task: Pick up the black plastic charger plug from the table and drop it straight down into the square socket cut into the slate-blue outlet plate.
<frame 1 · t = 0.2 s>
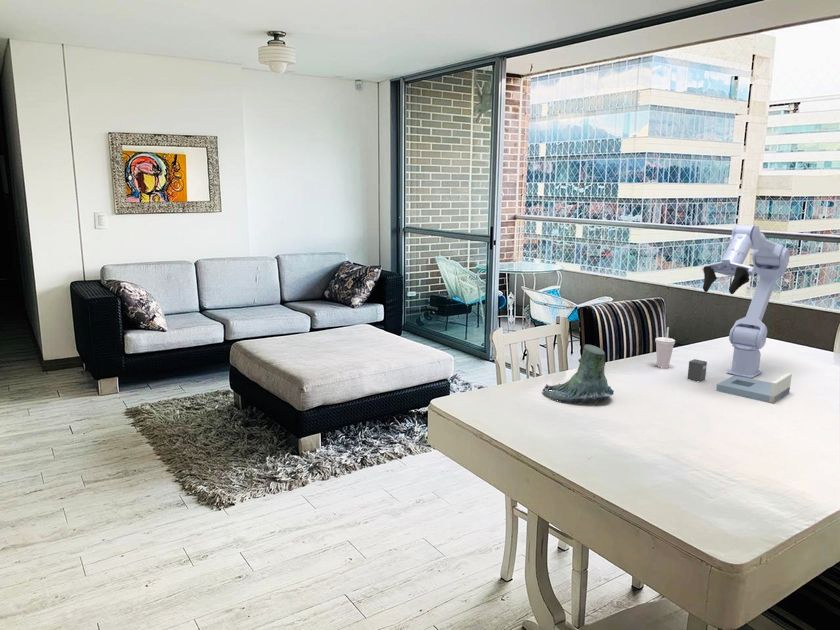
hand: (717, 290, 187), 31 cm above the table, tool tilted 45°, fingers open, 7 cm apart
tree stump: (578, 396, 188), on the table
outlet plate: (752, 391, 193), on the table
plug: (696, 379, 205), on the table
smoothie: (662, 367, 219), on the table
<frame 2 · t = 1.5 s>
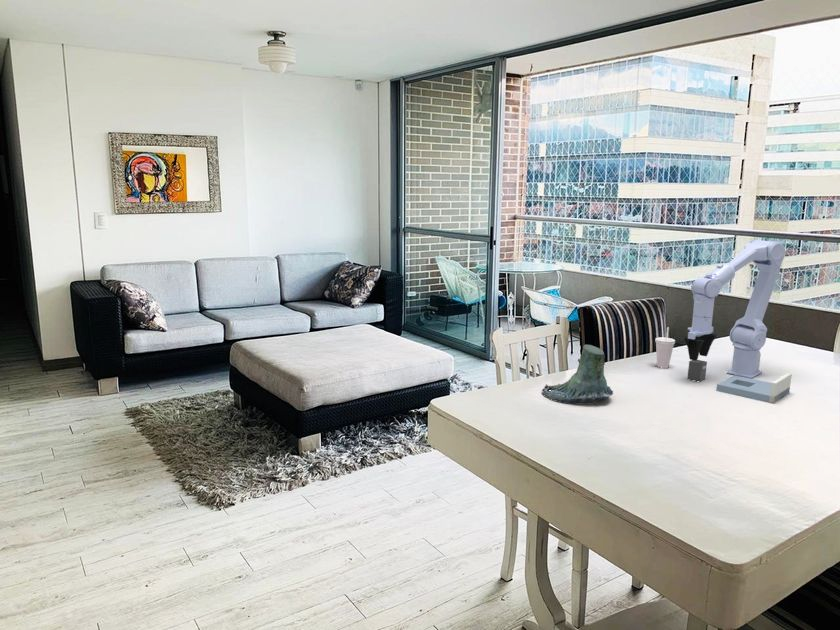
hand: (698, 357, 203), 7 cm above the table, tool pointing down, fingers open, 7 cm apart
nothing on the table moved.
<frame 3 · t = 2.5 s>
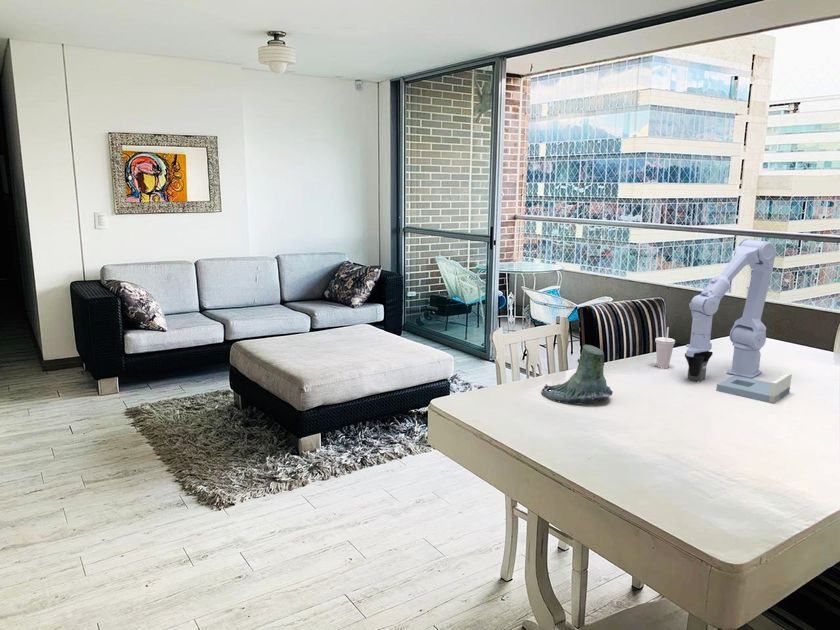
hand: (696, 374, 205), 2 cm above the table, tool pointing down, fingers closed on plug, 4 cm apart
plug: (696, 379, 205), on the table, touching gripper
everything else where it was.
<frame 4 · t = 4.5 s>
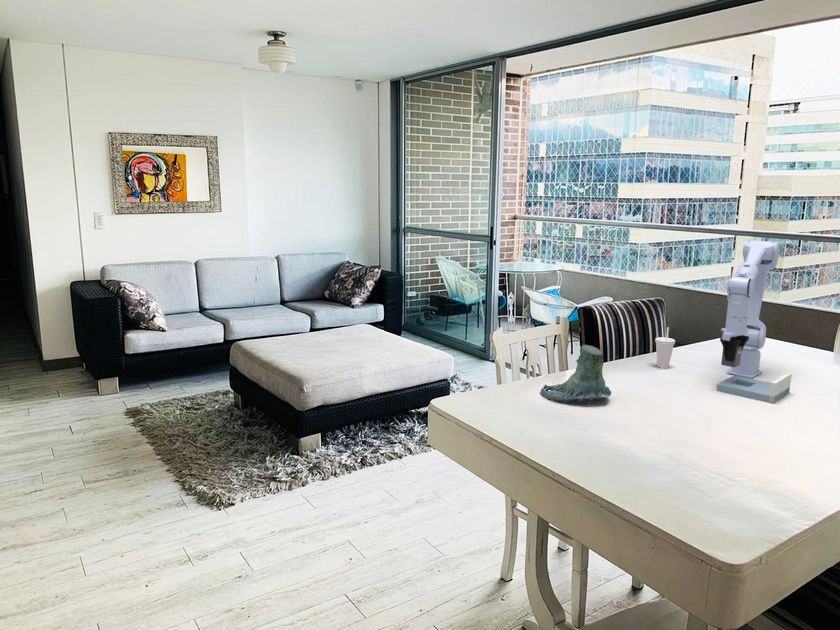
hand: (732, 359, 196), 9 cm above the table, tool pointing down, fingers closed on plug, 4 cm apart
plug: (730, 365, 197), point 7 cm above the table, touching gripper
when the fingers open (3 cm above the table, at t = 6.6 s): plug drops 1 cm, resting in outlet plate.
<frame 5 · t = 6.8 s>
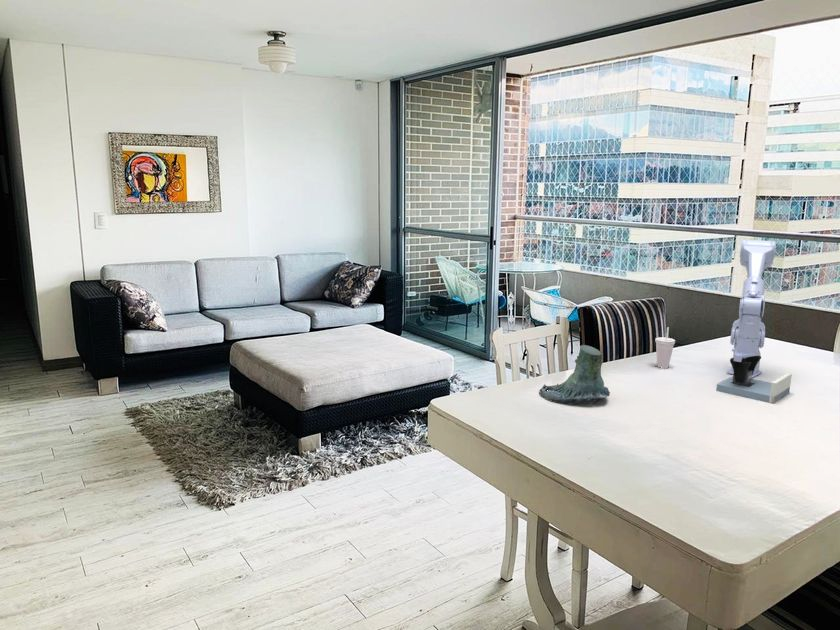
hand: (743, 380, 194), 3 cm above the table, tool pointing down, fingers open, 6 cm apart
plug: (740, 389, 195), resting in outlet plate
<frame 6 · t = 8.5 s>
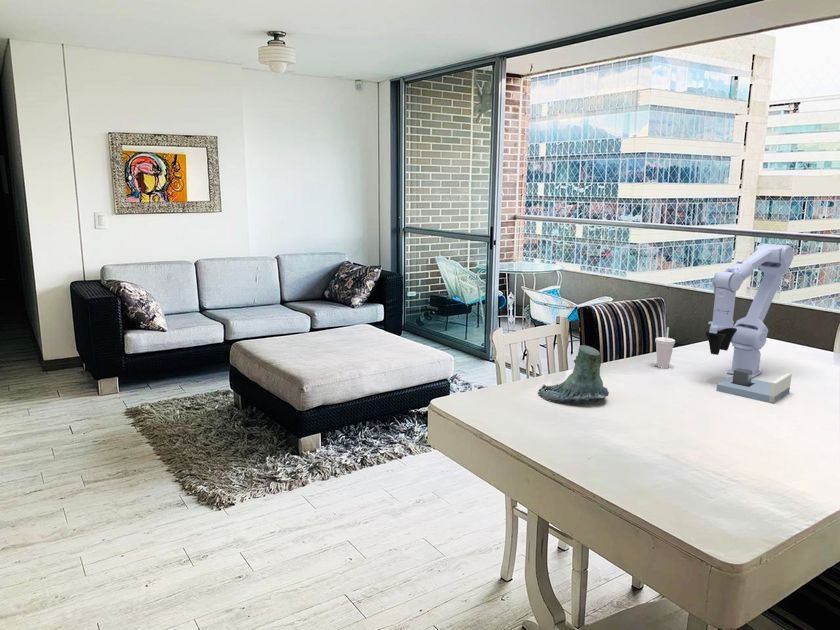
hand: (719, 352, 202), 9 cm above the table, tool pointing down, fingers open, 7 cm apart
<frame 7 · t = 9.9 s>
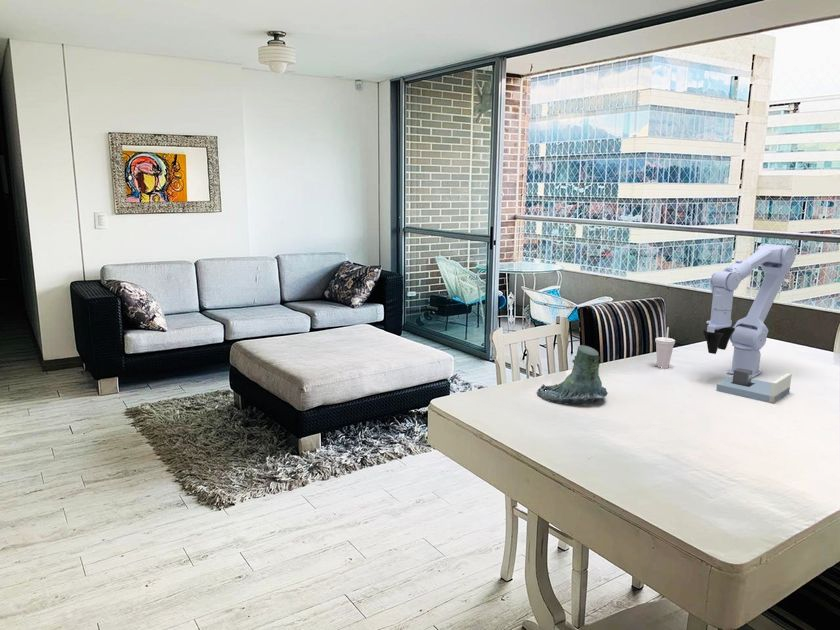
hand: (717, 351, 203), 9 cm above the table, tool pointing down, fingers open, 7 cm apart
at the end: plug 0.4 cm from the target spot on the outlet plate, point 0.0 cm above the outlet plate's base; plug tilted 0°; the gripper is holding nothing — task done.
